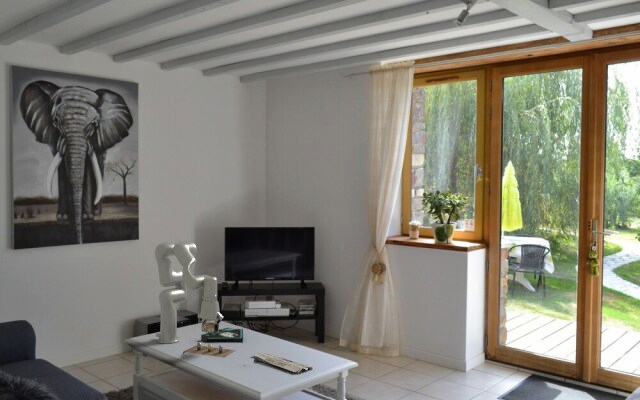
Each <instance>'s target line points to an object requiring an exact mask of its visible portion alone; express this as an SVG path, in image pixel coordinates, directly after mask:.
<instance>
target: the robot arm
mask: <svg viewBox="0 0 640 400" xmlns="http://www.w3.org/2000/svg"><path fill="white" fill-rule="evenodd" d="M197 250H198V249H197V245H196V244H195V243H194V242H192V241H168V242H162V243H159V244H158V245H157V246H156V247H155V249H154V256H155V260H156V263H157V270H158V278H159V284H160V286H161V287H163V288H166V289H164V290H161V291H160V293H158V294H159V295H158V300H159V307H160V308H159V309H160V330H159V331H160V332H156V333H155V337H156V338H157V337H158V339H157V342H158V343H159V344H173V343H178V342H179V341H180V338H179V337H177V333H178V331H177V328H178V327H177V325H178V324H177V322H178V321H177V318H178V313H177V312H178V311H177V308H176V307H175V304H177V305H178V304H182V303H184V302H186V300H187V299H188V289H190V290H193V291H194V290H195V291H196V290H200V289H203V295H202V296H201V299H203V300H202V302H201V307H200V312H199V313H198V314H197V318H198V319H199V320H200V322H201V325H202V324H204V323H206V322H207V320H208V321H213V322H215V331H218V329H220V323H221V322H222V320H223V319H224V318H225V317H224V316H223V315H222V314H221V313H220V304H219V301H218V278H217V277H216V276H210V275H209V274H202V275H201V274H200V275H193V274H192V273H191V271H190V270H191V269H193V267H194V266H195V265H196V264H197V259H196V257H195V255H196V254H197ZM169 257H175V258H176V259H177V260H178V262H179V263H180V266H181V267H182V270H181V269H174V267H173V263H172V261H171V259H170V258H169ZM169 287H172V288H169Z"/></svg>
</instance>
